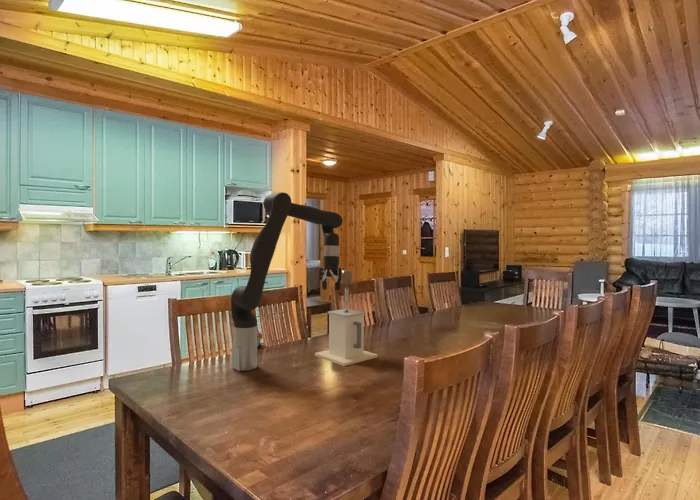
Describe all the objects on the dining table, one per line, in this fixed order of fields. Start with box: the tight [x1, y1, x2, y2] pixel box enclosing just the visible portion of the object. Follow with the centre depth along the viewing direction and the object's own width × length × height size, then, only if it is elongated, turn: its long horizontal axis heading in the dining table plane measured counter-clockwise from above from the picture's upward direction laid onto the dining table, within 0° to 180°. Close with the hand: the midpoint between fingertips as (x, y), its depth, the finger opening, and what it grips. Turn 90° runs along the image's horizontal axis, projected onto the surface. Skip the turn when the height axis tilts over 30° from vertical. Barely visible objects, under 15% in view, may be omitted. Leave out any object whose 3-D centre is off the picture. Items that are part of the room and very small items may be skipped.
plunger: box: [340, 269, 353, 313], centre depth 197 cm, size 9×9×24 cm
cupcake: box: [257, 330, 263, 347], centre depth 215 cm, size 9×8×12 cm
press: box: [314, 308, 378, 367], centre depth 198 cm, size 20×20×20 cm
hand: (331, 289), depth 209 cm, fingers open, 8 cm apart
